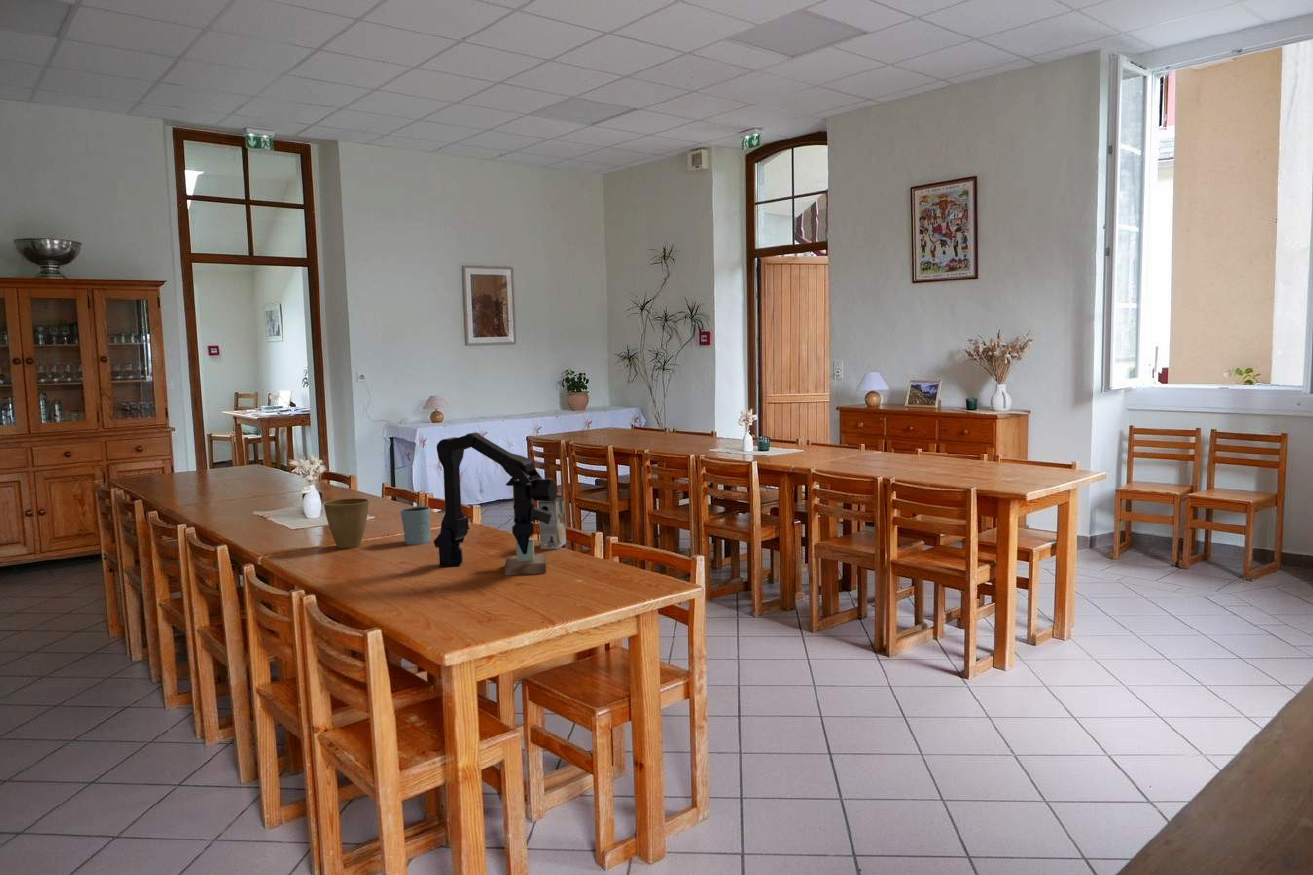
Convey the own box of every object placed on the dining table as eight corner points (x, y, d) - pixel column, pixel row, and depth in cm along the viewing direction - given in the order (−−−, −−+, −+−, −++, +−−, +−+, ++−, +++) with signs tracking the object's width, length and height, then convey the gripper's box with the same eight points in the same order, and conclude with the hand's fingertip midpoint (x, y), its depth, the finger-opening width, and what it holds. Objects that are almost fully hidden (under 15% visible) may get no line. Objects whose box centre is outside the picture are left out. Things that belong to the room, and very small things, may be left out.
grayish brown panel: (505, 575, 258) (504, 565, 258) (507, 565, 270) (507, 556, 270) (546, 572, 260) (545, 563, 259) (546, 563, 272) (546, 553, 271)
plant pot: (353, 552, 296) (350, 505, 295) (317, 550, 301) (314, 504, 300) (380, 542, 310) (377, 498, 309) (345, 540, 315) (342, 497, 314)
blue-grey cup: (427, 544, 304) (425, 510, 303) (398, 545, 304) (396, 511, 303) (435, 538, 314) (433, 505, 313) (407, 539, 314) (405, 506, 313)
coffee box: (548, 543, 301) (546, 496, 299) (566, 543, 299) (564, 497, 298) (540, 549, 292) (537, 501, 290) (558, 549, 290) (556, 501, 289)
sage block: (517, 561, 262) (516, 542, 261) (517, 558, 267) (516, 538, 266) (533, 560, 262) (532, 541, 262) (534, 557, 267) (533, 537, 267)
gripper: (549, 504, 254) (552, 557, 256) (550, 494, 273) (552, 543, 274) (511, 506, 253) (513, 559, 255) (514, 495, 272) (516, 545, 273)
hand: (525, 551), depth 264 cm, fingers open, 7 cm apart
